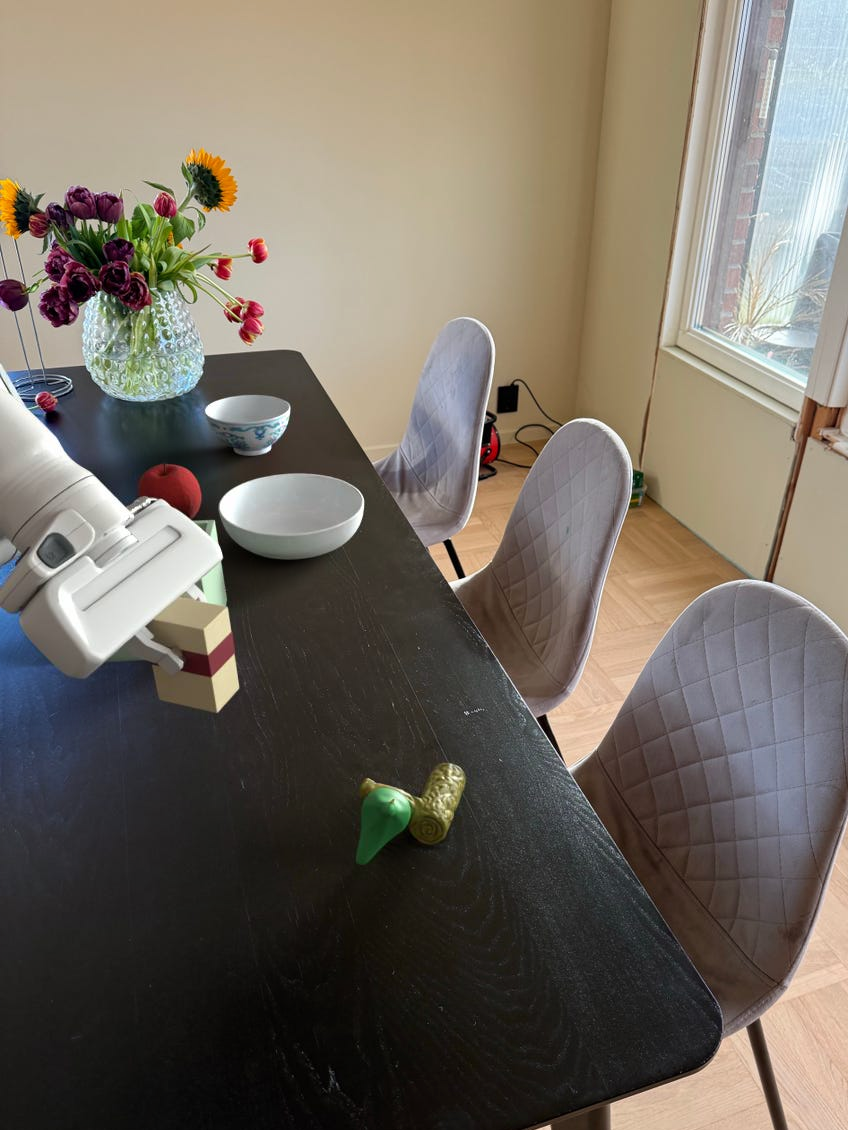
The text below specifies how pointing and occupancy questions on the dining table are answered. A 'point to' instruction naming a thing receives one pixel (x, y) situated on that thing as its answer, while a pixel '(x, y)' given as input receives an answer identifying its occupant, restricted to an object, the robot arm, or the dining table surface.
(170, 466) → the apple
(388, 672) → the dining table surface
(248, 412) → the chinaware
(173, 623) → the chocolate box
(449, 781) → the bird figurine
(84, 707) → the dining table surface
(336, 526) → the serving bowl
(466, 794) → the dining table surface
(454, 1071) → the dining table surface
